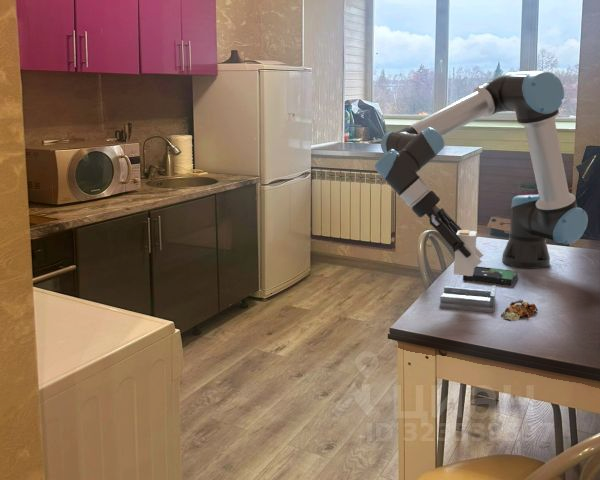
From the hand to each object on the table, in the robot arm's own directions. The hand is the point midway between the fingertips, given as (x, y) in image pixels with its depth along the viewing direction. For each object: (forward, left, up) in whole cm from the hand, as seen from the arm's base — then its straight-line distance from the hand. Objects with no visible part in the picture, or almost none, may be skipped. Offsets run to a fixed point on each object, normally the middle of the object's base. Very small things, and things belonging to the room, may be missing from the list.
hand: (478, 261), depth 177 cm
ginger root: (-11, +5, -13) cm, 18 cm away
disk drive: (-2, -26, -13) cm, 29 cm away
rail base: (+2, 0, -12) cm, 12 cm away
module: (+4, 0, -3) cm, 5 cm away
